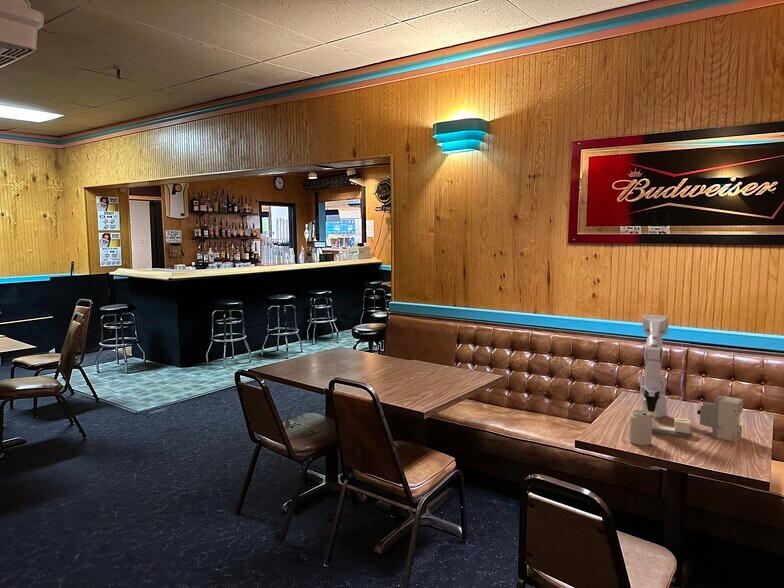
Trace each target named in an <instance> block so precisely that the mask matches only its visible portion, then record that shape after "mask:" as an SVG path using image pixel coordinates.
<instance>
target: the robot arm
mask: <svg viewBox="0 0 784 588" xmlns="http://www.w3.org/2000/svg"><path fill="white" fill-rule="evenodd" d="M669 317H670V316H668V315H654V314H644V315H643V319H642V322H643V323H642V327H643V333H644V334H646V335H647V336H648V337H647V338H646V345H645V348H644V355H643V356H644V365H645V366H644V374H642V375H641V377H640V385H639V387H640V390H639V391H640V393H641V394H642V396H643V397H642V399H643V398H645V399H646V402H647V408H648V411H651V412H654V410H655V406H656V403H657V416H655V419H657V418H663V417H667V416H669V414H668V413H667V408H668V406H667V404H668V401H667V398H666V396H665V395H666V386H667V385H666V377H664V376H663V374H662V361H663V360H664V359H663V358H664V349H663V338H662V337H663V336H664V337H665V336H666V335H667V333H668V329H669Z"/></svg>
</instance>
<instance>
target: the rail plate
mask: <svg viewBox="0 0 784 588" xmlns="http://www.w3.org/2000/svg"><path fill="white" fill-rule="evenodd" d="M651 417H652V435H661V436H666V435H667V437H673V436H674V437H675V438H680V437H682V438H681V439H687V438H689V440H690V439H691V438H692V433H691V430H690V419H688V418H680V417H674V425H673V426H668V425H660V424H656V418H655V416H651ZM674 437H673V438H674Z"/></svg>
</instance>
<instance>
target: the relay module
mask: <svg viewBox="0 0 784 588" xmlns="http://www.w3.org/2000/svg"><path fill="white" fill-rule="evenodd" d="M642 400H643V401H642V411H647V412H649V413H650V416H657V403H656V406H655V410H654V412H651V411H648V408H647V402H646V399H645V398H643V397H642Z"/></svg>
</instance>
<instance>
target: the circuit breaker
mask: <svg viewBox="0 0 784 588" xmlns="http://www.w3.org/2000/svg"><path fill="white" fill-rule="evenodd" d="M743 410H744V402H743V399H742V398H738V397H731V396H727V395H718V396H716V397H715V398H714V399H713V403H712V402H705V403H704V404H702V405H700V409H698V410H697V411H696V412H697V415H699V425H700V426H703V427H704V426H705V427H708V428H711V429H712V431H711V437H712V438H716V439H720V440H725V441H729V442H734V443H737V442H738V441H739V440H740V439H741V438H742V428H743V426H742V424H740V418H741V417H740V415H741V414H742V411H743Z"/></svg>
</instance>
